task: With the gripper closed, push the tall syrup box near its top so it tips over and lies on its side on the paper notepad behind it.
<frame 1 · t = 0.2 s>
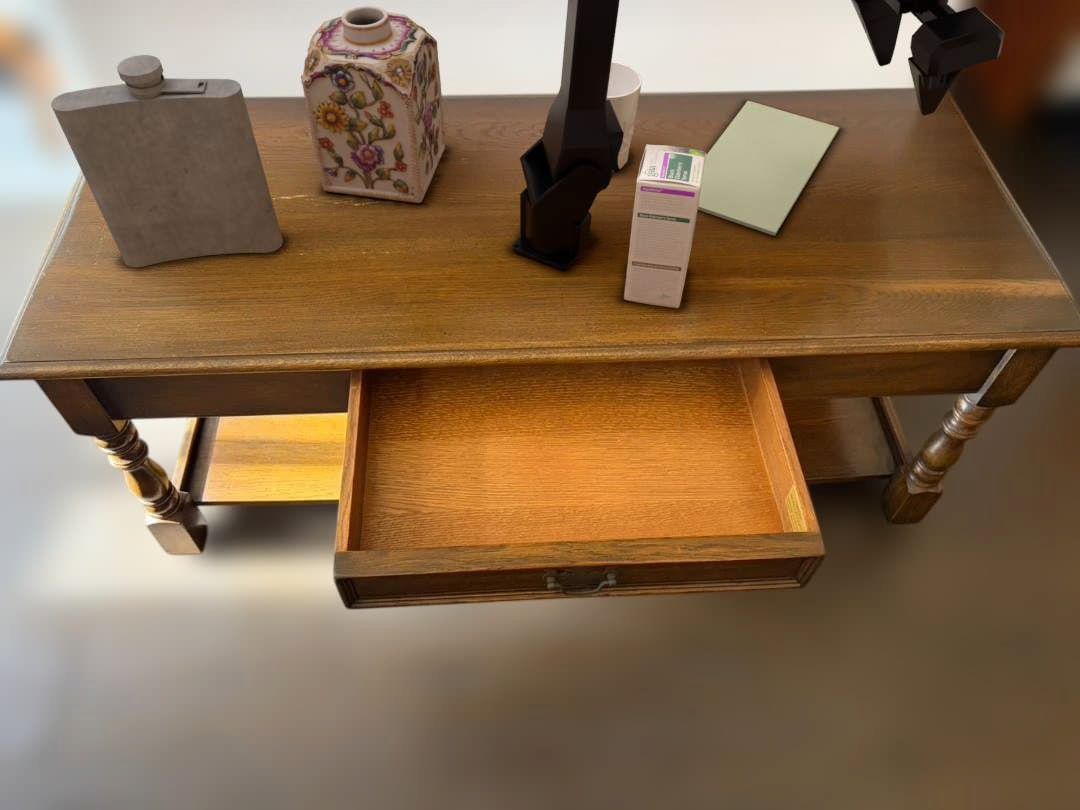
hand: (905, 88, 81), 15 cm above the table, tool pointing down, fingers open, 9 cm apart
paper notepad: (774, 142, 102), on the table
syrup box: (653, 288, 85), on the table
decorative jar: (387, 171, 96), on the table
white cup: (599, 158, 99), on the table
hip flask: (205, 249, 87), on the table
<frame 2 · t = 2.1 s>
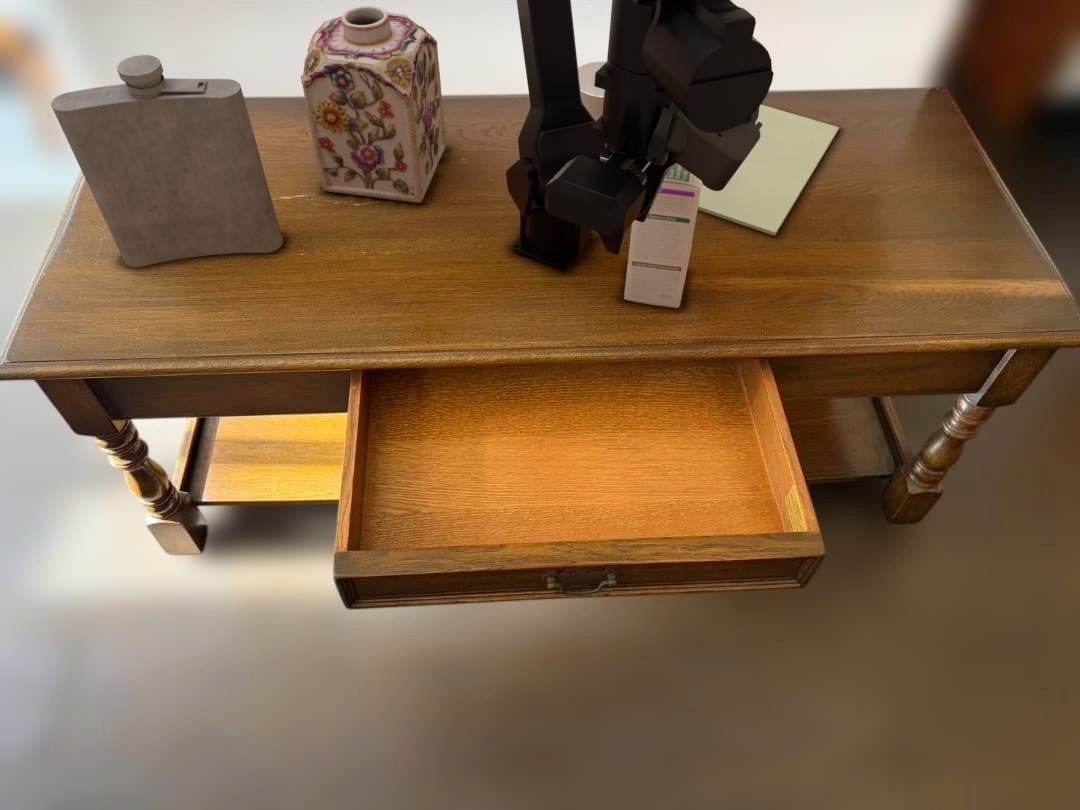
hand: (626, 236, 69), 13 cm above the table, tool pointing down, fingers open, 5 cm apart
nothing on the table moved.
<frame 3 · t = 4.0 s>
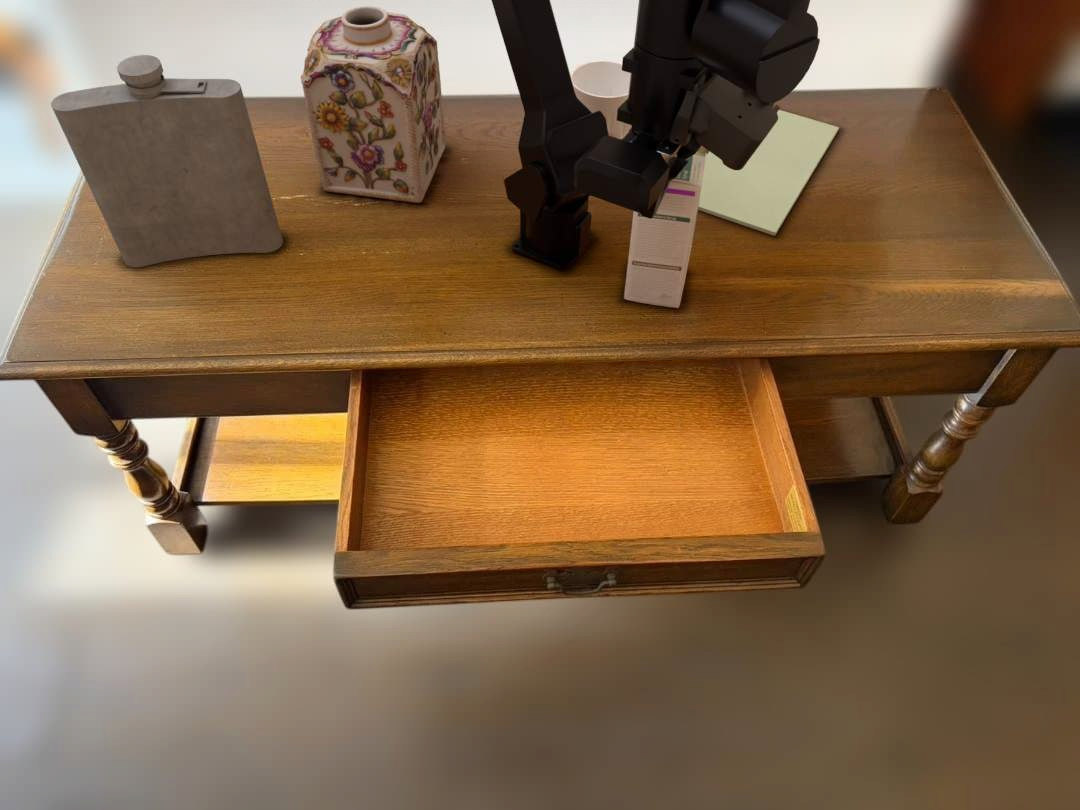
hand: (647, 215, 72), 12 cm above the table, tool pointing down, fingers closed
syrup box: (653, 288, 85), on the table, touching gripper
everything else where it was.
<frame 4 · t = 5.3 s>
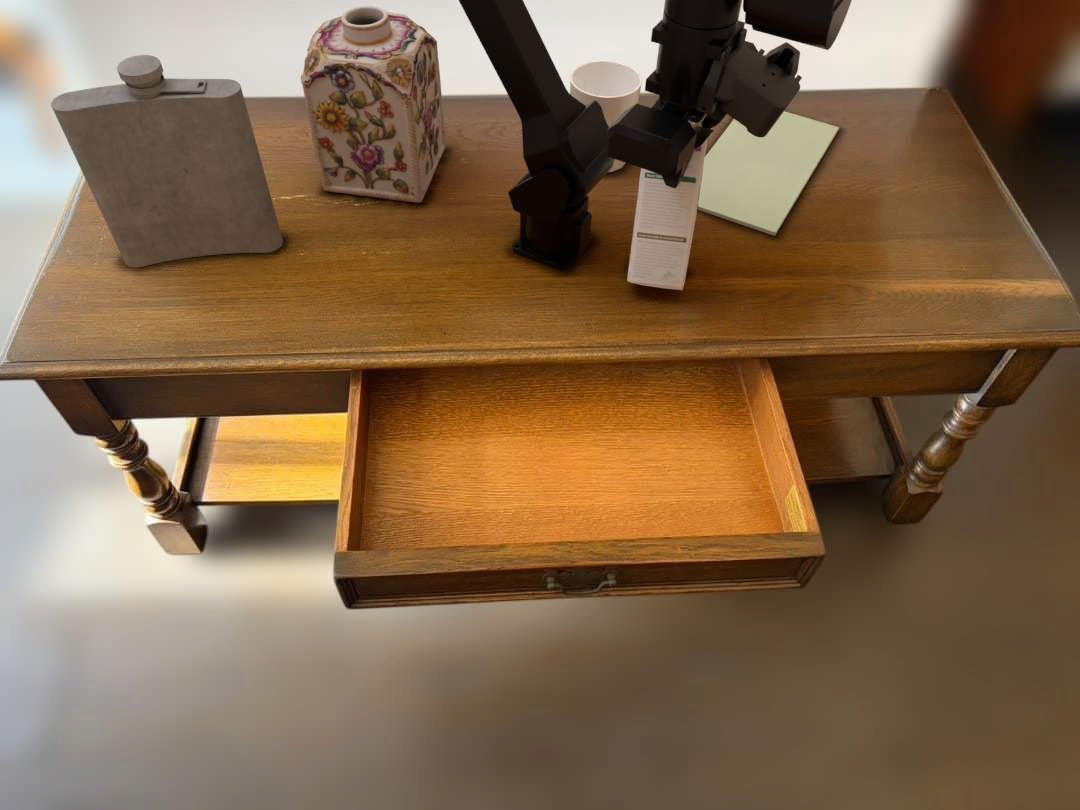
hand: (672, 185, 75), 12 cm above the table, tool pointing down, fingers closed
syrup box: (655, 279, 84), point 1 cm above the table
everything else where it was.
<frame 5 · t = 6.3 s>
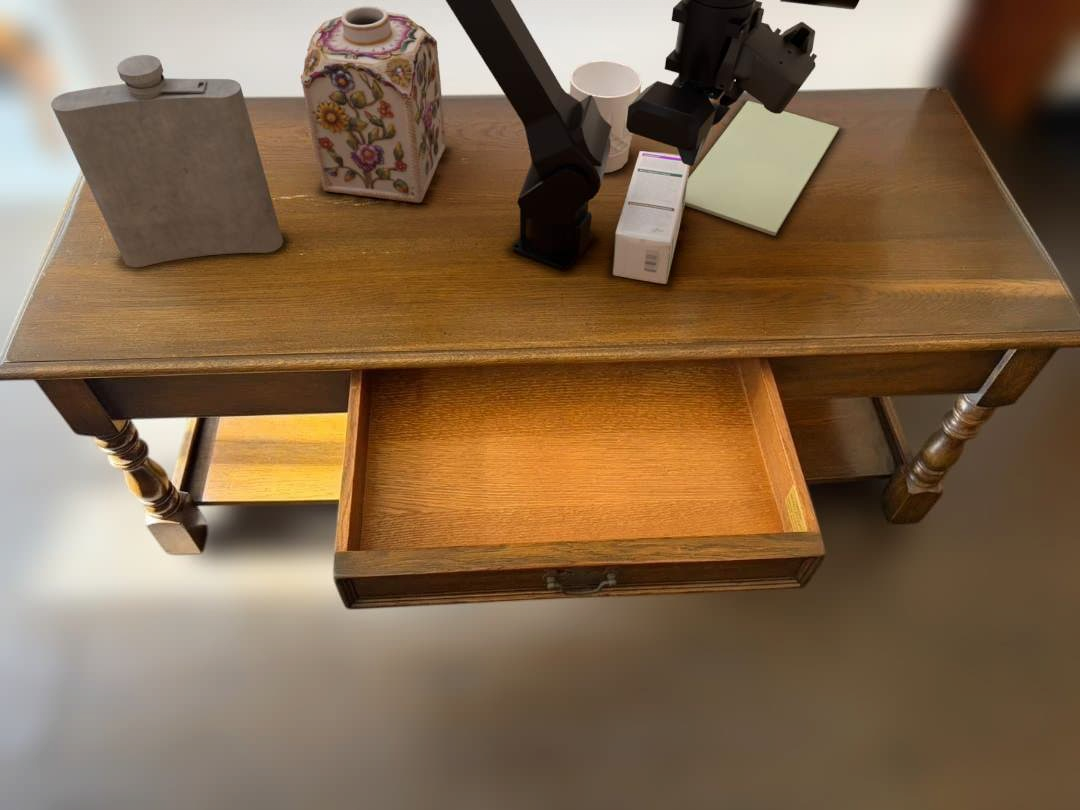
hand: (689, 163, 78), 12 cm above the table, tool pointing down, fingers closed
syrup box: (639, 261, 83), point 3 cm above the table, touching paper notepad
everything else where it was.
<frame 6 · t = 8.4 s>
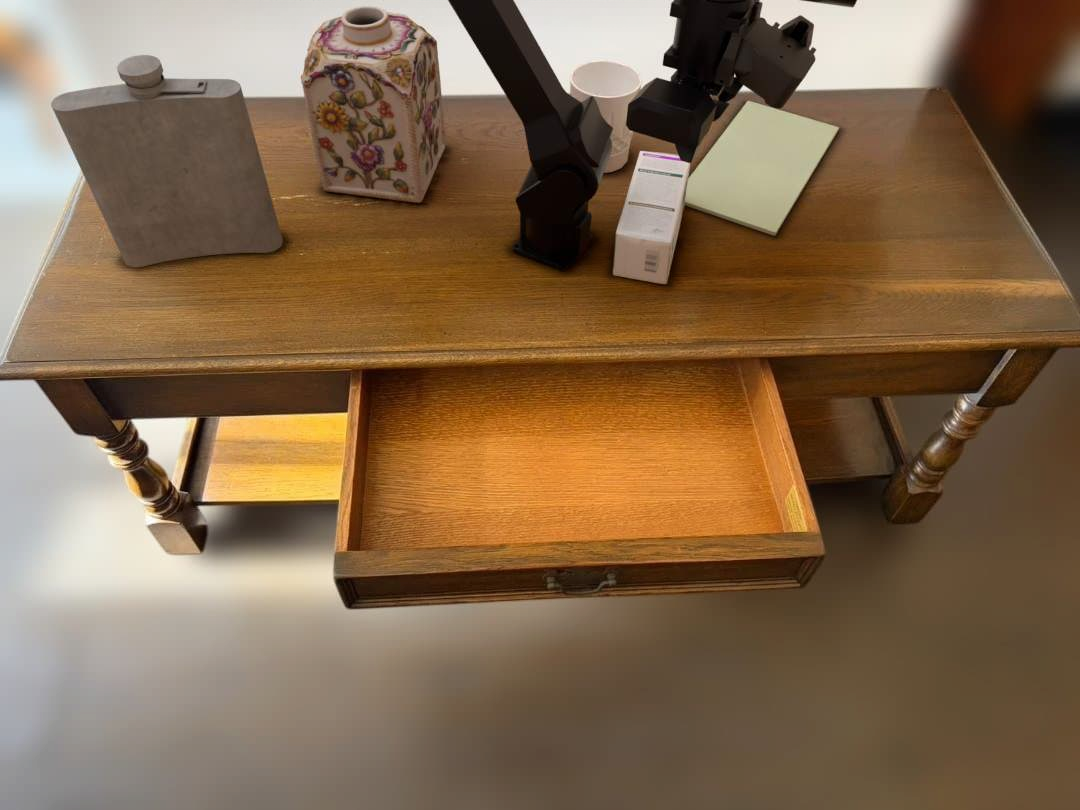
hand: (687, 160, 77), 13 cm above the table, tool pointing down, fingers closed
nothing on the table moved.
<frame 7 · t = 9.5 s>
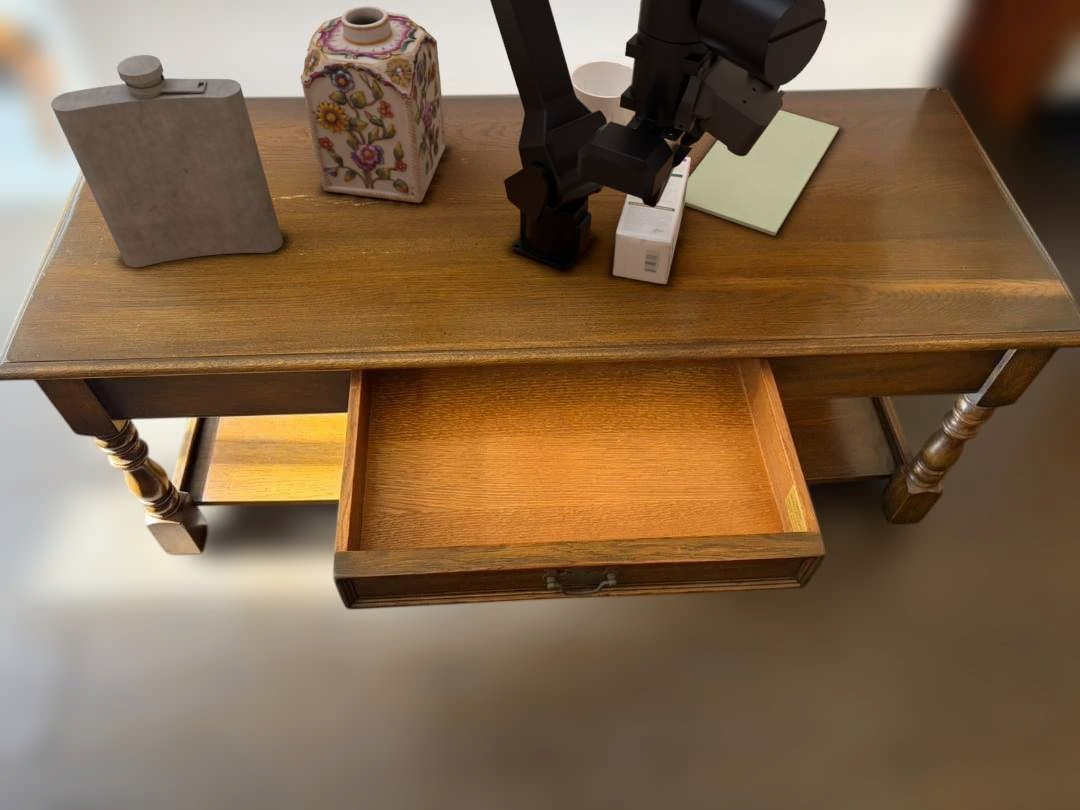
hand: (651, 203, 72), 13 cm above the table, tool pointing down, fingers closed
nothing on the table moved.
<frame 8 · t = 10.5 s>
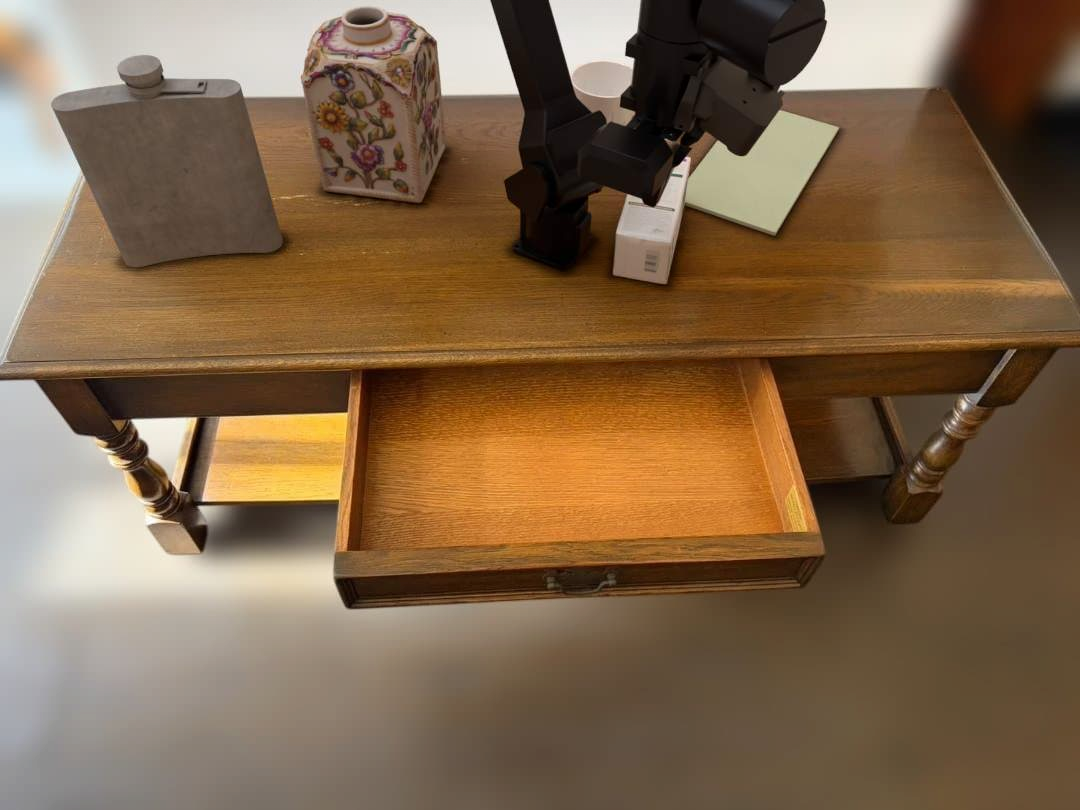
hand: (650, 203, 72), 13 cm above the table, tool pointing down, fingers closed
nothing on the table moved.
at the end: syrup box tilted 88°; syrup box touching paper notepad, table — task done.
